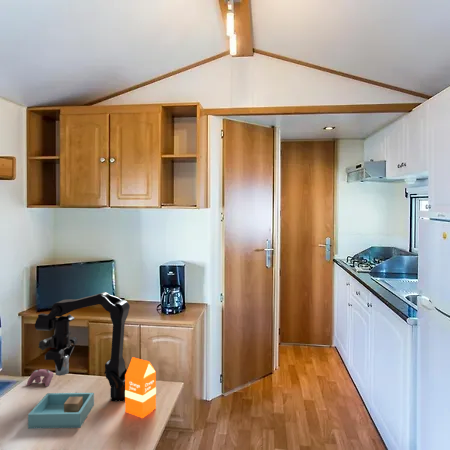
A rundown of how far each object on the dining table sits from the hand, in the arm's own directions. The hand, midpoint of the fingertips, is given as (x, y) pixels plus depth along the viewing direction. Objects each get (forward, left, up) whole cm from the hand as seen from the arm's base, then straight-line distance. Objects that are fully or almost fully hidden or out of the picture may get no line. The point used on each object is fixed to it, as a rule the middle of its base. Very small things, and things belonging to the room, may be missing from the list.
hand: (62, 368), depth 152 cm
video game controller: (+13, -9, -11) cm, 20 cm away
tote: (-7, +17, -11) cm, 21 cm away
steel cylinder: (0, 0, -2) cm, 2 cm away
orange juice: (-35, +14, -11) cm, 39 cm away
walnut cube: (-11, +17, -10) cm, 23 cm away
